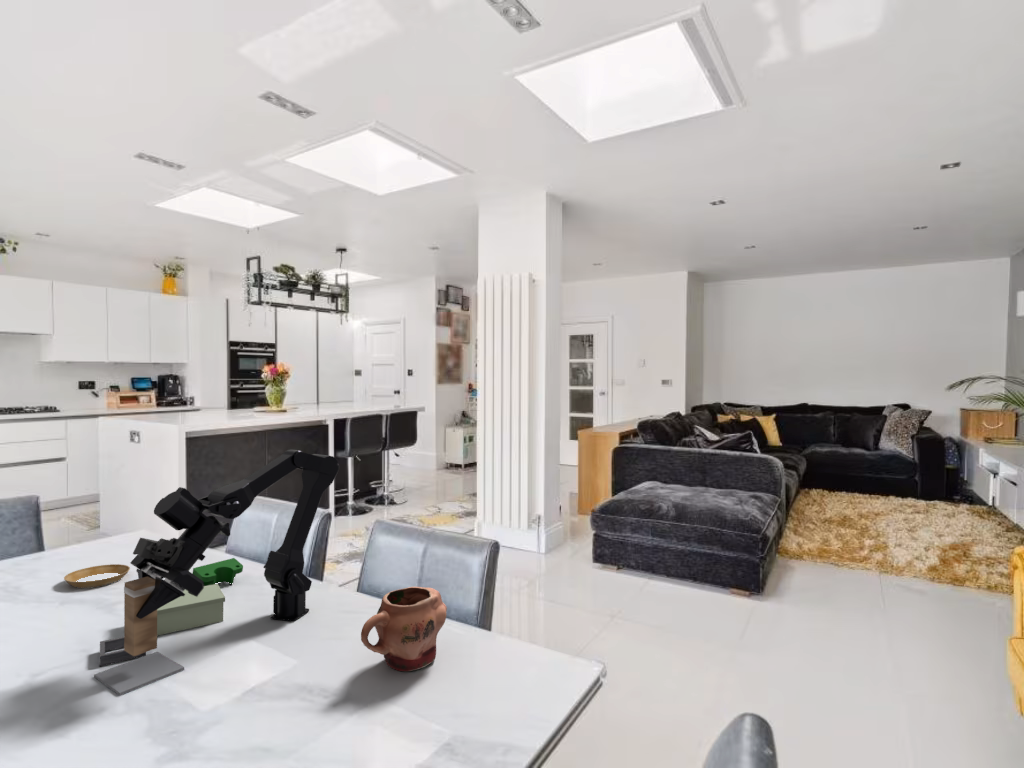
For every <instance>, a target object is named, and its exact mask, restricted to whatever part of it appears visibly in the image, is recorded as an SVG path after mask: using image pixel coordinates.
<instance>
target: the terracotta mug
mask: <svg viewBox="0 0 1024 768" xmlns="http://www.w3.org/2000/svg"><path fill="white" fill-rule="evenodd" d="M447 610H448V607H447V605H446V604H445V603H444V602H443V599H442V595H441V592H440V591H439V590H436V589H435V588H433V587H423V586H422V587H421V586H409V587H406V588H399V589H395V590H391V591H389V592H387V593H386V594H385V595H383V597H382V599H381V603H380V606H379V608H378V610H377V612H376V614H373V615H372V616H371V617H370V618H368V619H367V620H366V621H365V623H364V624H363V626H362V629H361V631H360V640H361V642H362V643H363V646H364V647H366V648H367V649H368V650H370V651H372V652H373V653H377V654H380V655H383V658H384V661H385V662H386V664H387V666H388V667H389V668H392V669H393V670H396V671H400V672H412V671H416V670H419V669H422V668H425V667H426V666H429V664H431V663H433V662H434V661H435V660H436V656H437V637H438V634H439V633H440V630H441V629H442V628H443V626H444V624H445V622H446V619H447ZM373 628H375V630H376V633H377V637H378V640H377V642H376V643H375V644H372V643H370V641H369V636H370V635H369V634H370V633H371V631H372V630H373Z"/></svg>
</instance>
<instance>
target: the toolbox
mask: <svg viewBox="0 0 1024 768" xmlns="http://www.w3.org/2000/svg"><path fill="white" fill-rule="evenodd" d="M183 593H184V594H185V595H184V596H181V597H179V598H177V599H175V600H173V601H171V602H169V603H167V604H166V605H164V606H162V607H160V608H159V609H157V636H162V635H165V634H170V633H175V632H176V633H177V632H181V631H185V630H189V629H194V628H199V627H202V626H207V625H212V624H217V623H221V622H224V603H225V602H226V597H225V594H224V593H223V591H222V589H221V587H220V586H219V584H214V585H208V586H204V588H203V590H202V591H201V592H200V594H199V595H198V596H197V597H196V596H194V595H191V594H189V593H188V591H187V590H184V591H183Z"/></svg>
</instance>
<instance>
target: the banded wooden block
mask: <svg viewBox="0 0 1024 768" xmlns="http://www.w3.org/2000/svg"><path fill="white" fill-rule="evenodd" d="M154 588H155V579H152V578H150V577H148V576H147V577H143V578H140V579H139V578H137V579H133V580H129V581H125V582H124V587H123V593H124V595H123V596H124V608H123V609H124V620H123V621H124V628H123V629H124V631H123V633H124V634H123V637H124V648H123V650H124V651H126V652H127V653H129V654H131V655H132V656H136V655H139V654H142V653H145V652H146V653H147V652H150V651H152V650H155V649H158V635H157V610H155V611H154V612H152V613H150V614H149V615H147V616H145V617H143V618H142V619H140V618H138V617H136V615H137V613H138V612H139V610H140V608H141V607H142V606H143V604H144V603H145V601H146V600H147V598H148V597H149V596H150V594H151V593H152V591H153V590H154Z"/></svg>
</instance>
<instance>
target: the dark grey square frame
mask: <svg viewBox="0 0 1024 768" xmlns="http://www.w3.org/2000/svg"><path fill="white" fill-rule="evenodd" d="M119 649H120V650H119ZM114 650H115V651H114ZM110 651H111V652H110ZM106 652H107V653H106ZM146 655H147V652H145V653H142V654H139V655H136V656H132V655H131V654H129V653H127V652H126V651H124V636H120V637H115V638H111V639H107V640H101V641H99V667H104V666H110V665H113V664H117V663H118V664H119V663H122V662H126V661H132V660H135V659H138V658H141V657H143V656H146Z"/></svg>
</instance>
